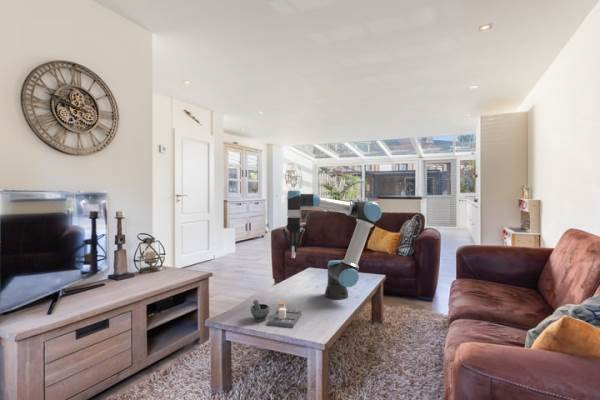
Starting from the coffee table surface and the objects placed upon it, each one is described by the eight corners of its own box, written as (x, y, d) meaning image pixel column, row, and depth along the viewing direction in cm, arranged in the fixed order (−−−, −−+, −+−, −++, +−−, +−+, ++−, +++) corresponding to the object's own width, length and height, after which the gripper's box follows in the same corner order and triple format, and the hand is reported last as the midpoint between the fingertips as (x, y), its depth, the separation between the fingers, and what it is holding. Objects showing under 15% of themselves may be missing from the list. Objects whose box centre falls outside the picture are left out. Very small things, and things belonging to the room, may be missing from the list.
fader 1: (285, 310, 175) (285, 302, 174) (283, 312, 171) (283, 304, 171) (279, 309, 175) (279, 301, 175) (278, 311, 172) (278, 303, 172)
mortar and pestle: (256, 315, 173) (256, 293, 173) (272, 317, 170) (272, 295, 170) (246, 323, 162) (246, 300, 162) (263, 325, 159) (263, 302, 159)
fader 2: (286, 317, 165) (286, 308, 165) (284, 319, 162) (284, 310, 162) (280, 316, 166) (280, 307, 166) (278, 318, 163) (278, 309, 163)
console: (301, 314, 175) (301, 310, 175) (293, 327, 157) (293, 323, 157) (278, 312, 178) (278, 308, 178) (268, 325, 160) (268, 320, 160)
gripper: (306, 216, 187) (305, 256, 187) (284, 216, 190) (284, 255, 190) (303, 217, 179) (303, 259, 180) (281, 217, 182) (280, 258, 183)
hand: (293, 257), depth 185 cm, fingers closed
